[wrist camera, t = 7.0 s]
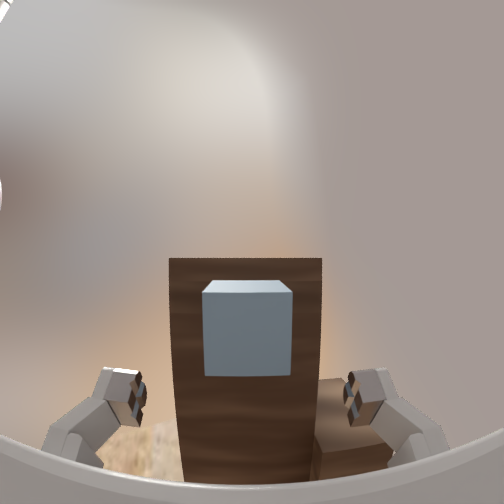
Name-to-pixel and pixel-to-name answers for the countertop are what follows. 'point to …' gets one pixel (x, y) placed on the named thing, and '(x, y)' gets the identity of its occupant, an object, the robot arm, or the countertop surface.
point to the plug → (247, 328)
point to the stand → (262, 390)
